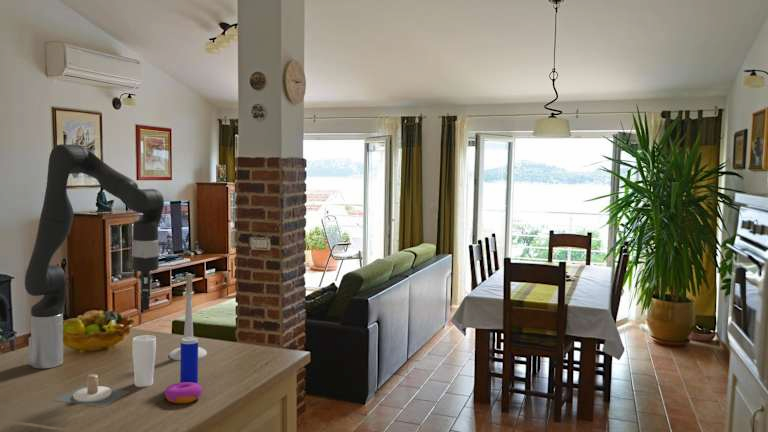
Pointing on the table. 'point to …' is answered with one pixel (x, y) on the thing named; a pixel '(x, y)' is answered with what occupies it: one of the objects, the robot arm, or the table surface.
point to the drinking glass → (144, 359)
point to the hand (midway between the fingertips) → (144, 306)
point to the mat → (102, 403)
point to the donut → (183, 392)
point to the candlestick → (188, 321)
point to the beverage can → (189, 360)
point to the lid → (92, 391)
